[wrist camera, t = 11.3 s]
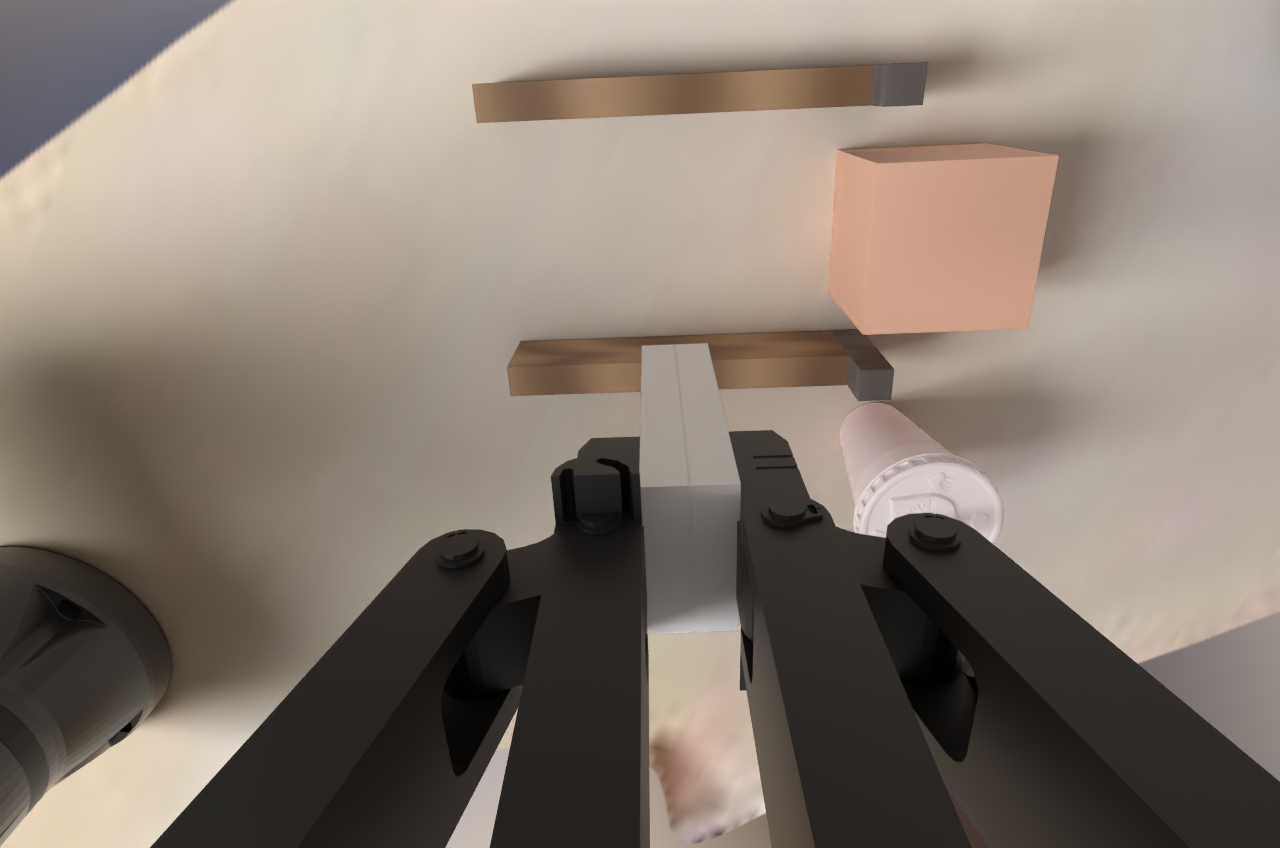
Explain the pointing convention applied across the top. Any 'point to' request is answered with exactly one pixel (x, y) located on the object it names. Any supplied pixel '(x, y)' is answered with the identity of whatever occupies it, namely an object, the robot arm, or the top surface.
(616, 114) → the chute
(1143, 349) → the top surface
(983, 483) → the smoothie
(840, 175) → the block
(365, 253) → the top surface
